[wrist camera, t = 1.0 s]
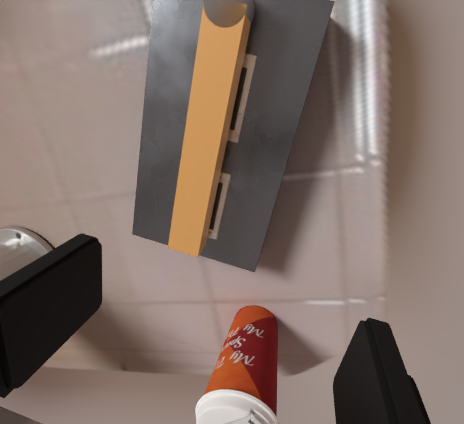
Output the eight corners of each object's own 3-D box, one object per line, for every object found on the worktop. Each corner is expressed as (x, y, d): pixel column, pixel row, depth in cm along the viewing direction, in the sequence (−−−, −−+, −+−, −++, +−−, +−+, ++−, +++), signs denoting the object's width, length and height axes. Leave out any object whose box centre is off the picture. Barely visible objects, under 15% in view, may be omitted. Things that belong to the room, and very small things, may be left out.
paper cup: (254, 287, 36) (228, 390, 23) (298, 327, 36) (298, 449, 24) (214, 319, 39) (173, 426, 26) (256, 356, 39) (235, 477, 27)
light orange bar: (217, -19, 21) (207, -34, 19) (259, -11, 21) (254, -25, 19) (176, 236, 30) (166, 247, 27) (206, 245, 29) (198, 257, 27)
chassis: (259, 254, 34) (253, 275, 30) (149, 220, 36) (128, 236, 31) (329, 16, 25) (335, -2, 20) (176, -14, 26) (151, -37, 22)
